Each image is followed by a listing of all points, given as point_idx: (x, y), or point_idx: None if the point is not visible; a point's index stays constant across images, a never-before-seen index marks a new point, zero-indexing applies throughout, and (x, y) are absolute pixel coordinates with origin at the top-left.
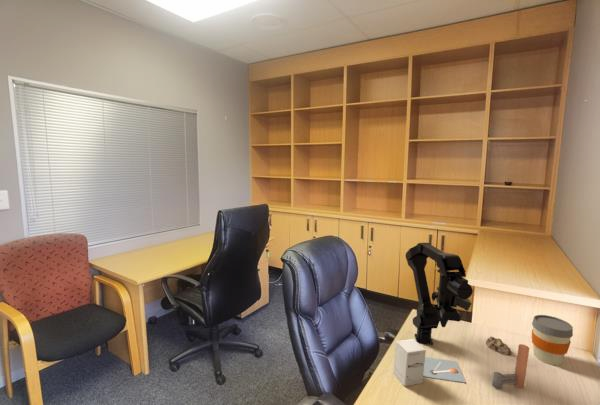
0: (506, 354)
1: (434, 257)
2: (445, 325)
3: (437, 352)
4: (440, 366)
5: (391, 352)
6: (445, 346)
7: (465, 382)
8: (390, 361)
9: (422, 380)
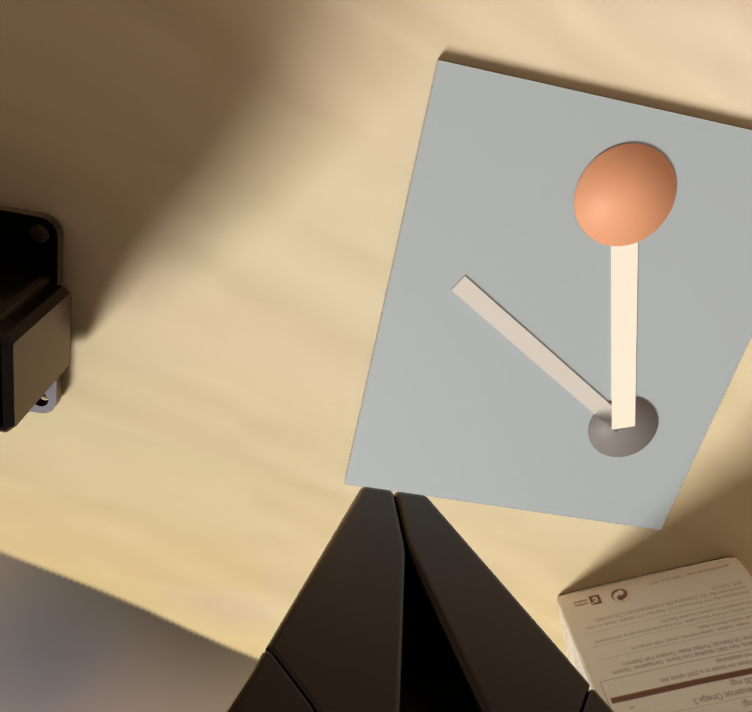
0: None
1: None
2: (460, 540)
3: (236, 225)
4: (536, 317)
5: None
6: (56, 33)
7: None
8: None
9: (749, 575)
